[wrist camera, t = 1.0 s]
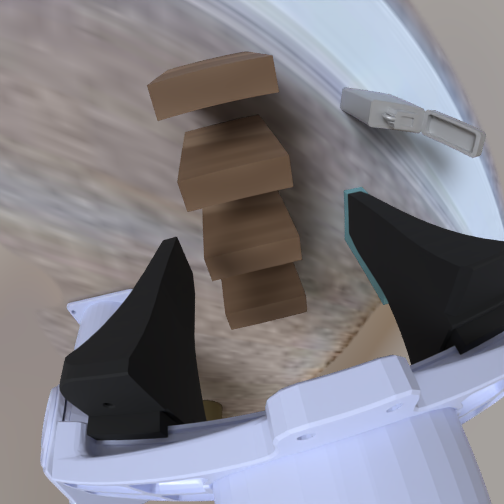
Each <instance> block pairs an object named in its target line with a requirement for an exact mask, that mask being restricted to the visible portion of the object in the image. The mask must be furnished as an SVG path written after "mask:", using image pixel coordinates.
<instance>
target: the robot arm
mask: <svg viewBox="0 0 504 504" xmlns="http://www.w3.org/2000/svg"><path fill="white" fill-rule="evenodd" d="M348 217H349V235H350V237H351V239H352V241H353V243H354V245H355V247H356V249H357V251H358V253H359V255H360V256H361V258H362V259H363V261H364V263H365V264H366V266H367V267H368V269H369V270H370V272H371V274H372V275H373V277H374V278H375V280H376V281H377V283H378V285H379V286H380V288H381V290H382V291H383V293H384V295H385V297H386V299H387V301H388V303H389V305H390V308H391V310H392V312H393V314H394V317H395V319H396V322H397V324H398V327H399V329H400V332H401V335H402V338H403V340H404V343H405V346H406V349H407V352H408V355H409V359H410V362H411V365H410V366H409V364H408V362H407V360H406V358H404V357H401V356H396V355H389V356H385V357H380V358H377V359H374V360H371V361H368V362H365V363H362V364H359V365H356V366H353V367H350V368H347V369H344V370H341V371H337V372H334V373H331V374H327V375H324V376H320V377H317V378H313V379H310V380H306V381H302V382H299V383H296V384H293V385H290V386H288V387H285V388H282V389H280V390H279V391H277V392H276V393H275V394H273V395H272V396H271V397H269V399H268V400H267V402H266V407H265V411H261V412H256V413H251V414H246V415H241V416H235V417H230V418H224V419H218V420H211V421H207V420H206V415H205V410H204V405H203V400H202V395H201V389H200V383H199V376H198V370H197V362H196V353H195V340H194V329H195V289H194V280H193V273H192V270H191V268H190V266H189V263H188V261H187V259H186V257H185V254H184V252H183V250H182V247H181V245H180V243H179V240H178V238H177V237H174V238H170V239H167V240H163V242H162V243H161V245H160V246H159V248H158V250H157V251H156V253H155V255H154V257H153V258H152V260H151V262H150V263H149V265H148V267H147V268H146V270H145V272H144V273H143V275H142V276H141V278H140V279H139V281H138V282H137V284H136V285H135V287H134V288H133V289H127V290H123V291H119V292H114V293H110V294H106V295H101V296H97V297H93V298H88V299H84V300H80V301H75V302H71V303H68V305H67V309H68V310H69V312H70V313H71V314H72V316H73V317H74V318H75V319H76V321H77V322H78V323H79V324H80V328H79V332H78V336H77V340H76V344H75V348H74V351H73V352H72V353H70V354H69V355H68V356H66V357H65V361H64V366H63V370H62V375H61V379H60V384H59V385H58V386H57V387H54V388H52V390H51V393H50V396H49V400H48V404H47V409H46V413H45V418H44V424H43V431H42V440H41V447H42V451H41V460H40V461H41V466H42V467H43V472H44V473H45V475H46V476H47V478H48V479H49V480H50V481H51V482H52V483H53V484H54V485H55V486H56V487H57V488H58V489H59V490H60V491H61V492H62V493H63V494H64V495H65V496H66V497H67V498H68V499H69V504H144V503H146V502H148V501H149V500H156V501H214V502H215V504H491V500H490V498H489V495H488V492H487V489H486V486H485V483H484V480H483V477H482V475H481V472H480V469H479V467H478V464H477V462H476V459H475V456H474V454H473V451H472V449H471V447H470V444H469V442H468V439H467V437H466V435H465V432H464V430H463V428H462V424H464V423H465V422H467V421H468V420H470V419H472V418H473V417H475V416H476V415H478V414H479V413H481V412H482V411H484V410H485V409H487V408H488V407H490V406H491V405H492V404H494V403H495V402H497V401H498V400H500V399H501V398H502V397H504V241H498V240H491V239H484V238H478V237H474V236H469V235H465V234H461V233H457V232H454V231H451V230H447V229H444V228H441V227H438V226H436V225H433V224H430V223H428V222H425V221H423V220H420V219H418V218H416V217H414V216H411V215H409V214H407V213H405V212H403V211H401V210H399V209H397V208H395V207H393V206H391V205H389V204H387V203H385V202H383V201H381V200H379V199H377V198H375V197H373V196H371V195H369V194H367V193H365V192H362V191H358V192H354V193H349V194H348Z"/></svg>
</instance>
